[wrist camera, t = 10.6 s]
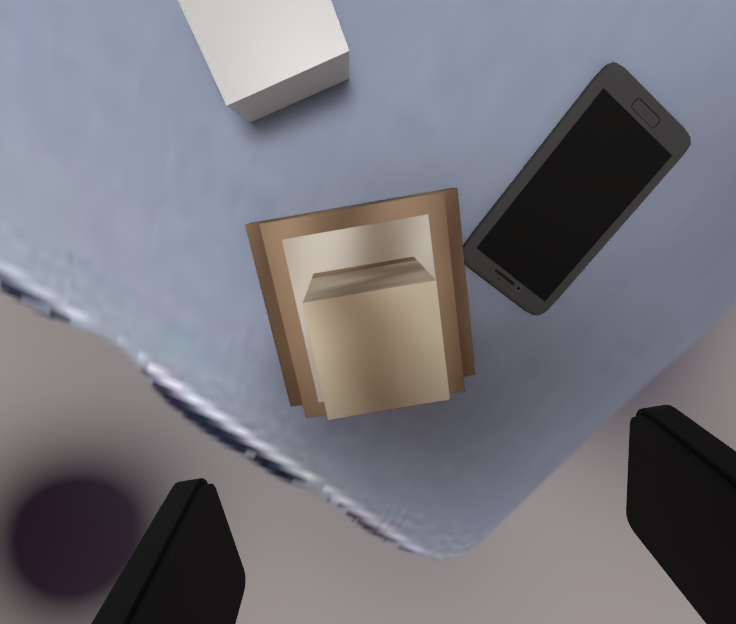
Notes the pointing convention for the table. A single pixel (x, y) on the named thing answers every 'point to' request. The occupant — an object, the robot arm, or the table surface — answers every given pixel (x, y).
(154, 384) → the table surface
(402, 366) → the tan cube
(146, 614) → the robot arm
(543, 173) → the cell phone
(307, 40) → the white cube
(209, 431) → the table surface
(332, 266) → the dock
